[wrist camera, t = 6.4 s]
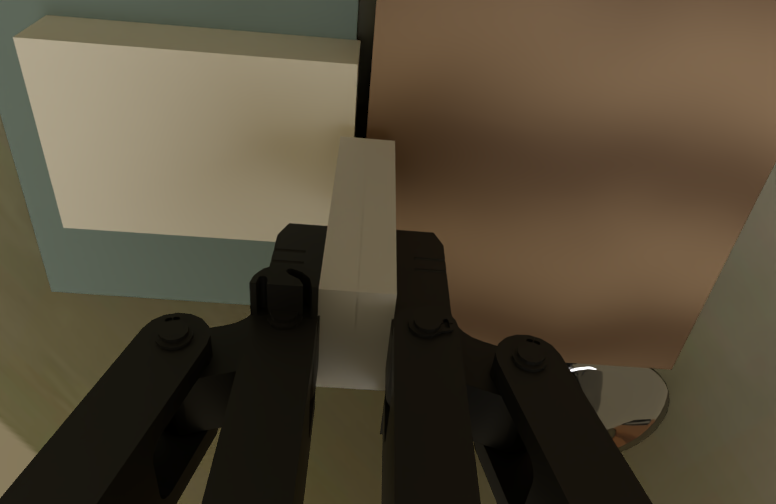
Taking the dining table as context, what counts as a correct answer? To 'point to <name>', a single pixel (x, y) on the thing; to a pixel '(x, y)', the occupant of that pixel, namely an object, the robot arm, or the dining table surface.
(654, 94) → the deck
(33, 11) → the mat
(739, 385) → the dining table surface
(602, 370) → the wine glass
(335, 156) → the cream rectangular block
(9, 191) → the dining table surface
